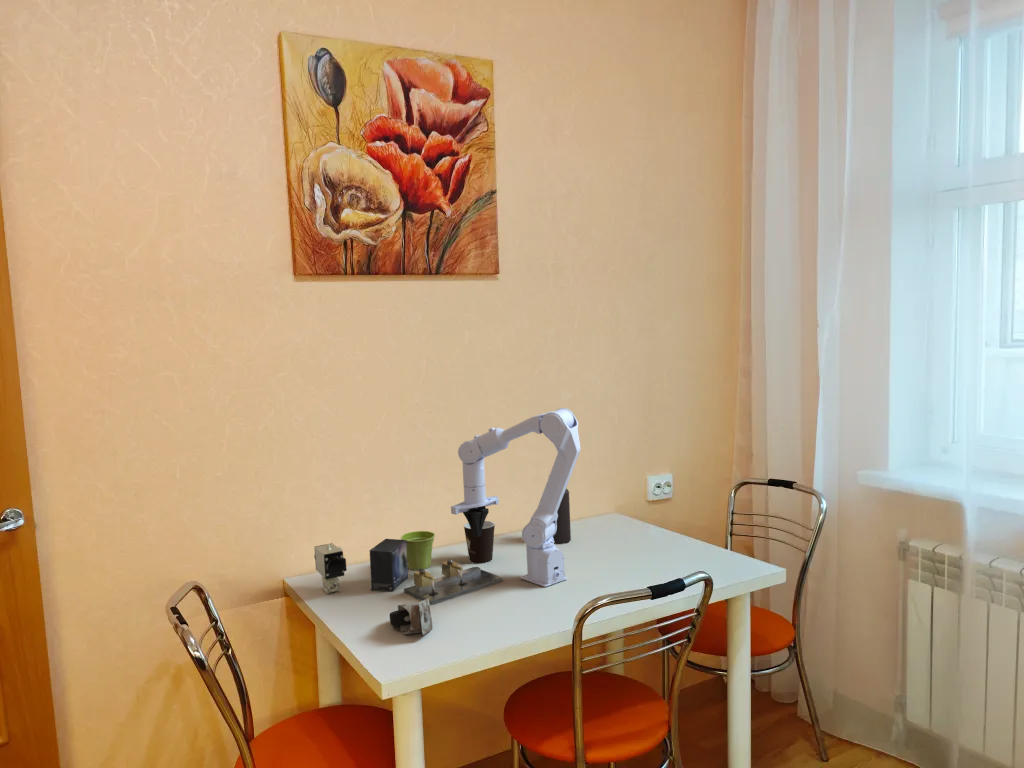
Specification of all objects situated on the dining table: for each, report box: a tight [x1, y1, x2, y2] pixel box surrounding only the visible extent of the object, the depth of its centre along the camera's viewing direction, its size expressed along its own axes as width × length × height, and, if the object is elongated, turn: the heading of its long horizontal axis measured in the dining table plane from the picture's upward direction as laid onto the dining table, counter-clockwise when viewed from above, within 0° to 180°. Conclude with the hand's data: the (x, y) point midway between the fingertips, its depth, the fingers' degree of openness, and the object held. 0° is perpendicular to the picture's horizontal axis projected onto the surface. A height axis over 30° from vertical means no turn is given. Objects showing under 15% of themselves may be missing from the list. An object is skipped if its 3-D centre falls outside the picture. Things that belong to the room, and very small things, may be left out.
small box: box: [369, 538, 409, 592], centre depth 191 cm, size 11×6×10 cm, turn 167°
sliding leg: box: [441, 559, 464, 583], centre depth 187 cm, size 7×3×5 cm, turn 41°
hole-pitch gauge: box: [403, 566, 504, 606], centre depth 187 cm, size 12×22×6 cm, turn 131°
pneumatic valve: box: [313, 543, 348, 595], centre depth 188 cm, size 6×12×12 cm, turn 30°
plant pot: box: [400, 530, 436, 571], centre depth 204 cm, size 9×9×9 cm
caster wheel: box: [389, 598, 433, 636], centre depth 162 cm, size 7×11×10 cm
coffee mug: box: [463, 520, 496, 564], centre depth 209 cm, size 12×9×10 cm
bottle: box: [548, 474, 572, 545], centre depth 221 cm, size 7×7×20 cm
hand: (476, 535), depth 196 cm, fingers closed
